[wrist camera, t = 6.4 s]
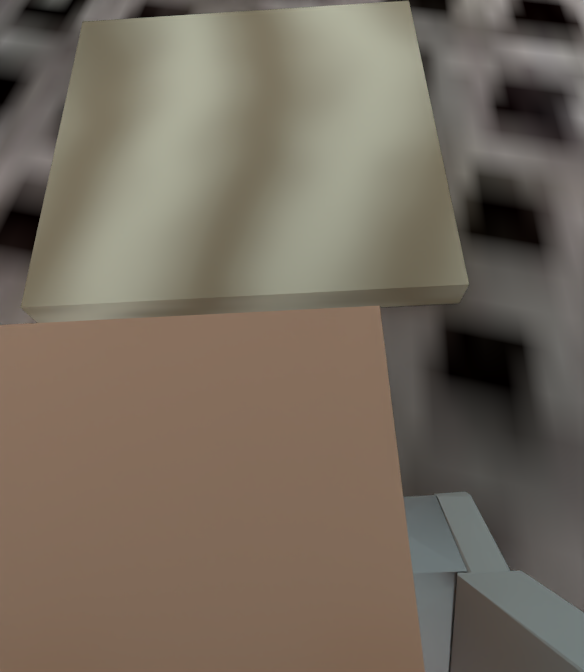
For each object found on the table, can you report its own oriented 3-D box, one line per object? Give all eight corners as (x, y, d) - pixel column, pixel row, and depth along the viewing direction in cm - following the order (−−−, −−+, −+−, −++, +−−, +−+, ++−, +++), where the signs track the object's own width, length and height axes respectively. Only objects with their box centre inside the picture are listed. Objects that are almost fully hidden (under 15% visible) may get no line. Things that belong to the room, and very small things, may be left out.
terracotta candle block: (136, 706, 13) (-327, 1038, 4) (153, 481, 15) (-98, 329, 6) (357, 699, 12) (467, 1021, 3) (340, 473, 15) (380, 306, 6)
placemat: (38, 324, 17) (20, 307, 16) (93, 47, 23) (82, 21, 22) (459, 303, 17) (469, 284, 16) (404, 28, 23) (408, 0, 22)
